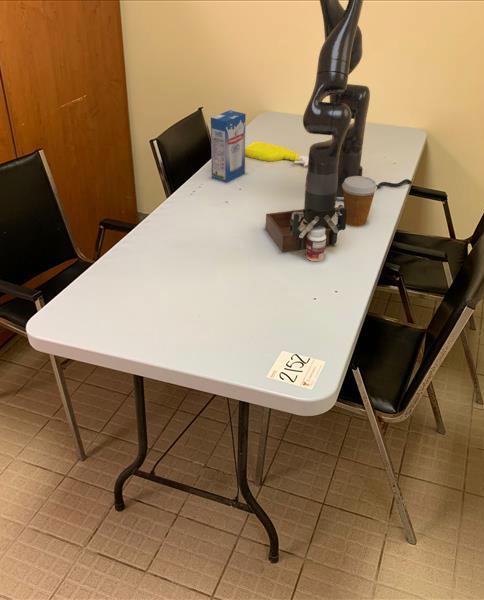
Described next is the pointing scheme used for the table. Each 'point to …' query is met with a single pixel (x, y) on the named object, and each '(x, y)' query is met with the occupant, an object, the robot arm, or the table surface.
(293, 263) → the table surface
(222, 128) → the milk carton
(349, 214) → the disposable coffee cup
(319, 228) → the pill bottle
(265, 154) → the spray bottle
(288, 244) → the wooden box
